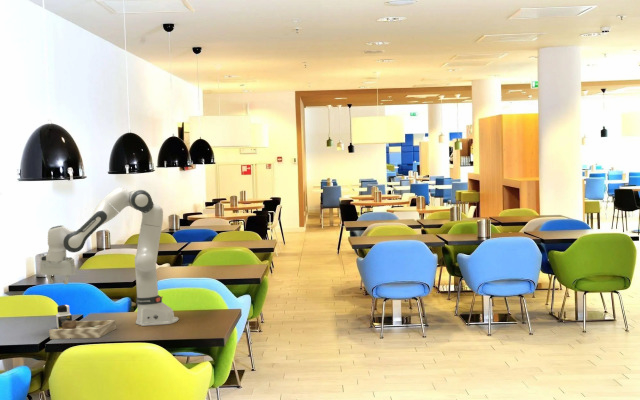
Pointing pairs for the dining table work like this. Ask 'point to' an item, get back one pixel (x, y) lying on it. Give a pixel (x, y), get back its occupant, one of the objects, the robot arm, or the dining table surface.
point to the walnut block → (69, 324)
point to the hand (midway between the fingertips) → (58, 283)
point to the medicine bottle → (63, 315)
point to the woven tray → (84, 330)
